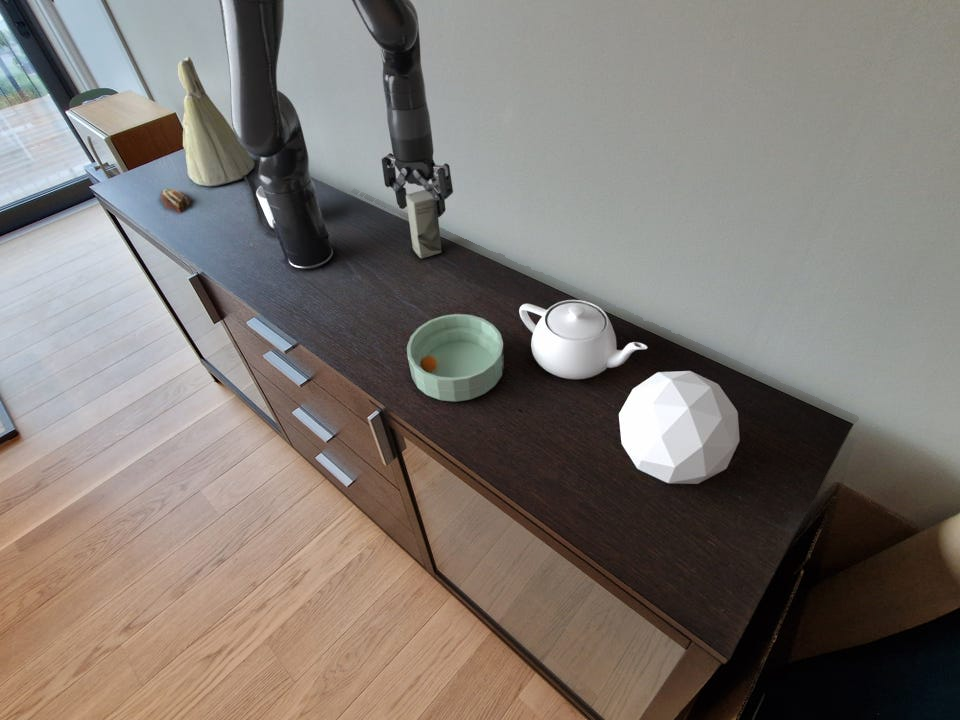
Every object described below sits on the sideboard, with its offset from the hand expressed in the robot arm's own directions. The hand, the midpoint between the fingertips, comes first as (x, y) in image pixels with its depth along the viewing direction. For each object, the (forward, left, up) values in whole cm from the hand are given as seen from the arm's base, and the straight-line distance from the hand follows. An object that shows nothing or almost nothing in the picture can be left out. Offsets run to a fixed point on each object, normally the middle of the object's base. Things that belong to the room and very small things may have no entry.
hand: (421, 211), depth 106 cm
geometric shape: (+58, -31, -10) cm, 67 cm away
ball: (+19, -30, -8) cm, 37 cm away
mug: (-37, 0, -10) cm, 38 cm away
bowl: (+23, -28, -10) cm, 38 cm away
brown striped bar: (-73, -6, -10) cm, 74 cm away
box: (0, 0, -10) cm, 10 cm away
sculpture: (-73, +11, -10) cm, 74 cm away
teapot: (+40, -18, -10) cm, 45 cm away
